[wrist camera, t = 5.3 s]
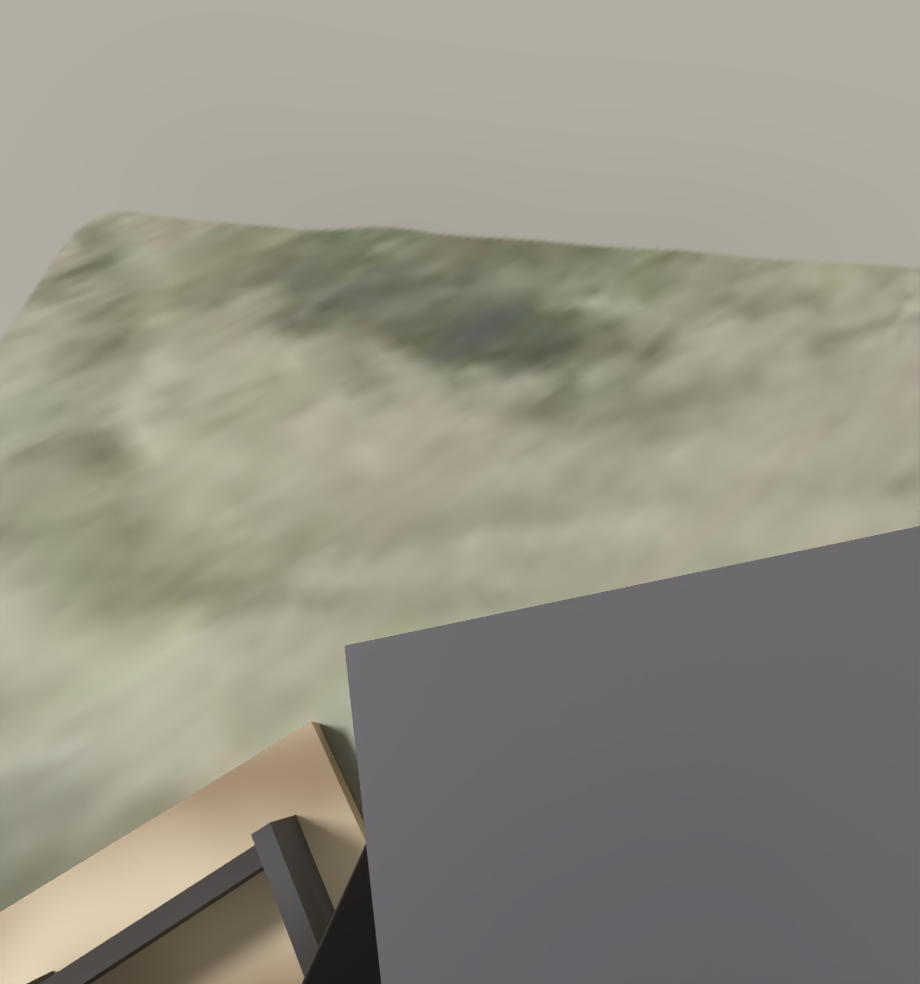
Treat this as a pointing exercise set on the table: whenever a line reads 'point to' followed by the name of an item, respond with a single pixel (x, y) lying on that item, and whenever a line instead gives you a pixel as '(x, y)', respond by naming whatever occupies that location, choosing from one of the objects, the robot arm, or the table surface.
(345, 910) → the robot arm
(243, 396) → the table surface
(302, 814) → the socket board
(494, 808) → the plug block
